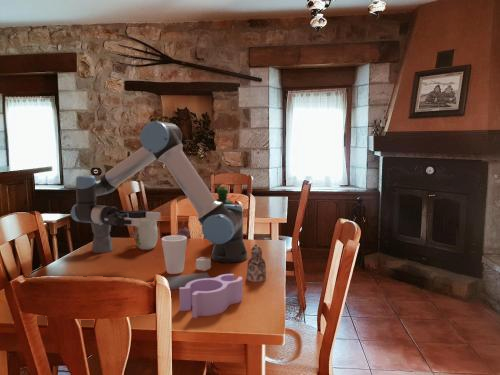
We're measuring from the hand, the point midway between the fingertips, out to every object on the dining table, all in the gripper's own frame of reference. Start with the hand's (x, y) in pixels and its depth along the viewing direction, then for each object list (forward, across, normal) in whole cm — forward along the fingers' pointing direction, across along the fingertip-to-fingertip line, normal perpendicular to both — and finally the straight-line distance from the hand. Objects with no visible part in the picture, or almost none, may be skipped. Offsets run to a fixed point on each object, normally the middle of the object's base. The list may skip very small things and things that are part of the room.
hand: (150, 219), depth 156 cm
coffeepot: (-35, -14, -20) cm, 43 cm away
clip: (+38, +23, -20) cm, 49 cm away
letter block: (+19, -7, -19) cm, 28 cm away
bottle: (+10, -46, -20) cm, 51 cm away
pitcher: (-21, -26, -20) cm, 39 cm away
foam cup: (+11, 0, -20) cm, 22 cm away
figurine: (+43, -4, -19) cm, 47 cm away
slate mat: (+22, +9, -19) cm, 30 cm away
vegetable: (-10, -42, -20) cm, 48 cm away
